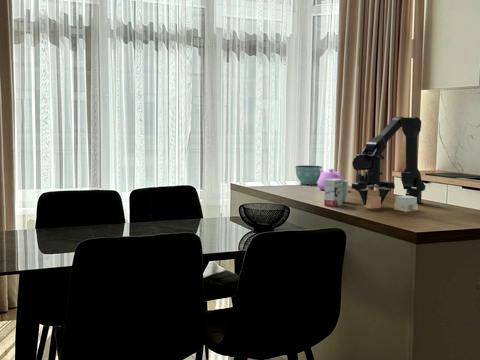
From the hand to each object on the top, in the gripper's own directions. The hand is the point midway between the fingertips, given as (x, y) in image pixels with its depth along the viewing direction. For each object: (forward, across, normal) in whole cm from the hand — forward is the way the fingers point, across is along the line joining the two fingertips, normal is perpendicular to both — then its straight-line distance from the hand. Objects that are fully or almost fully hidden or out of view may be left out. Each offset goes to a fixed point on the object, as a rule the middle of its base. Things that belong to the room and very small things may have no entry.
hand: (372, 204), depth 246 cm
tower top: (-2, -10, +10) cm, 14 cm away
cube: (+1, 0, 0) cm, 1 cm away
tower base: (+1, -10, +10) cm, 14 cm away
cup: (+1, +6, -19) cm, 20 cm away
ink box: (+1, +14, -10) cm, 17 cm away
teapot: (+1, -13, -63) cm, 64 cm away
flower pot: (+1, -15, -93) cm, 94 cm away
